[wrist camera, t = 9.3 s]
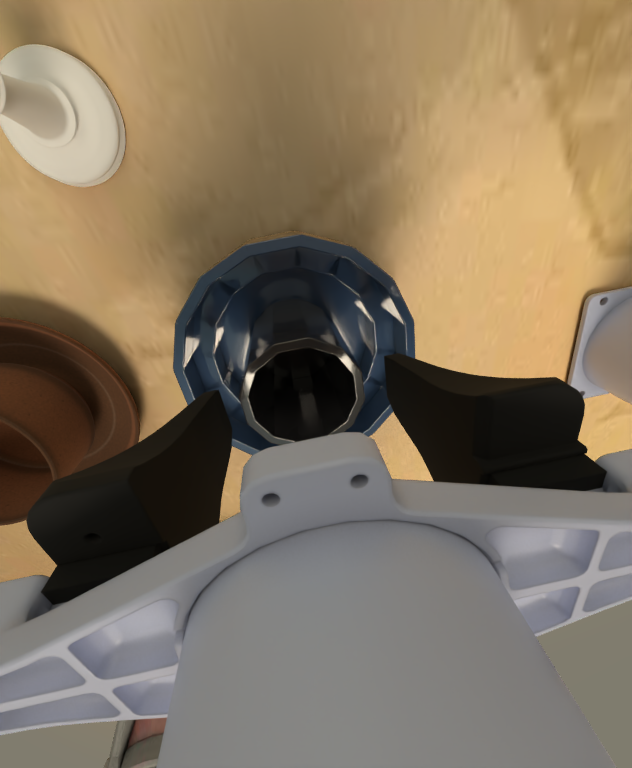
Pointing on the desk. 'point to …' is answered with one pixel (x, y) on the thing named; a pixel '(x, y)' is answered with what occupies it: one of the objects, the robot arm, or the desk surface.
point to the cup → (299, 375)
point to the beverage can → (136, 743)
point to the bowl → (282, 282)
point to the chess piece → (60, 116)
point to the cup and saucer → (55, 413)
